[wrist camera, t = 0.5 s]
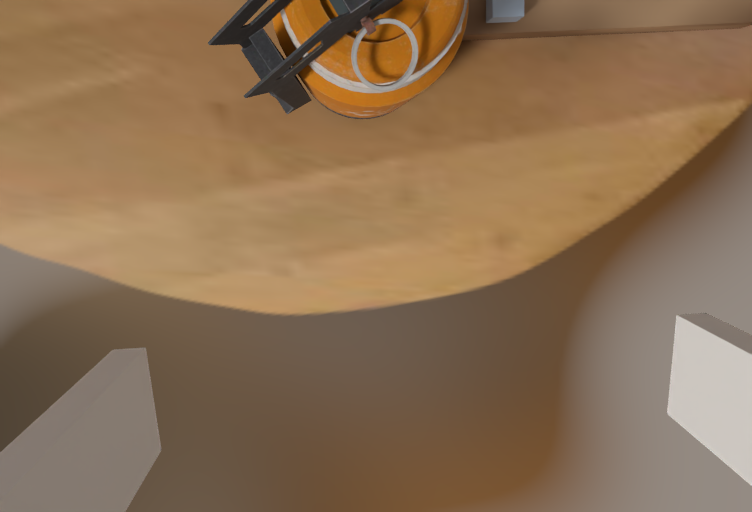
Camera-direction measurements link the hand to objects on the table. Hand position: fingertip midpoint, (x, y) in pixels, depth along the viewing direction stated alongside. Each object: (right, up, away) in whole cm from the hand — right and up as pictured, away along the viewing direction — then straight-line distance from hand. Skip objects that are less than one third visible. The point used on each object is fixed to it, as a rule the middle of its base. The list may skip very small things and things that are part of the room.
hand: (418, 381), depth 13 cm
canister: (-3, +17, +23) cm, 29 cm away
